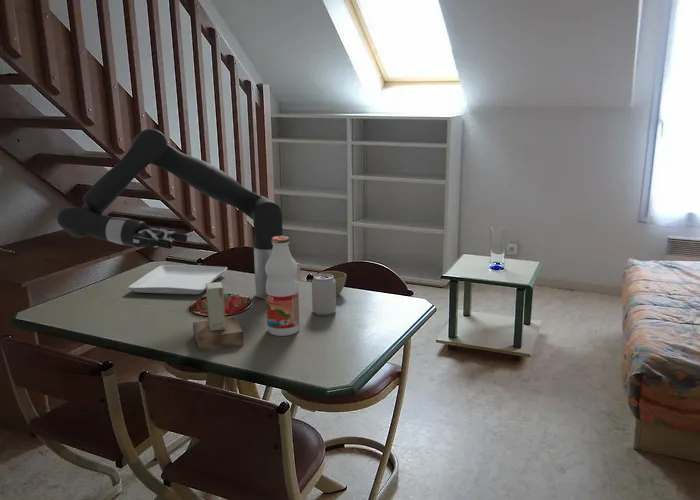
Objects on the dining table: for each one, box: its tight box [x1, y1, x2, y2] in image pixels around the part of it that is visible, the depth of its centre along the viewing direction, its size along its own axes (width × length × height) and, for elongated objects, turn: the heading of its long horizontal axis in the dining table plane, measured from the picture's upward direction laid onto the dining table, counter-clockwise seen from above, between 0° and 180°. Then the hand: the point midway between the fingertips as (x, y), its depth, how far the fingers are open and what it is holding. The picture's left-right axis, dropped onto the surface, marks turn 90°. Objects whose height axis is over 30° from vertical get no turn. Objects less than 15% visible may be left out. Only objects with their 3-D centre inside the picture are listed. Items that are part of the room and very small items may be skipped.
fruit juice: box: [265, 235, 301, 337], centre depth 176 cm, size 9×9×28 cm
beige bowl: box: [316, 270, 347, 298], centre depth 209 cm, size 10×10×7 cm
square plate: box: [127, 264, 228, 295], centre depth 222 cm, size 27×27×4 cm
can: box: [311, 273, 337, 316], centre depth 192 cm, size 8×8×12 cm
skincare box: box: [205, 281, 226, 331], centre depth 170 cm, size 6×4×12 cm
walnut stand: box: [192, 316, 245, 352], centre depth 172 cm, size 12×12×4 cm
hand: (179, 241), depth 171 cm, fingers open, 8 cm apart
